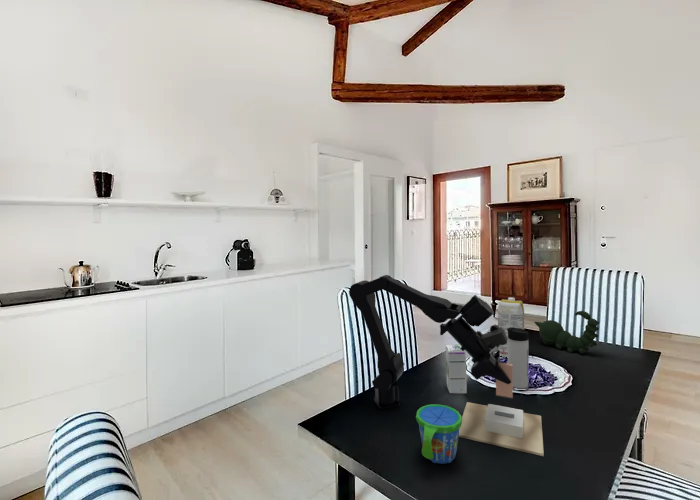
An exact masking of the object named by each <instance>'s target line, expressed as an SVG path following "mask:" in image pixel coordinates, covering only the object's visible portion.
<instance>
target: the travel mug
mask: <svg viewBox="0 0 700 500" xmlns="http://www.w3.org/2000/svg"><path fill="white" fill-rule="evenodd" d="M507 331H508V358H507V363H508V364H513V388H517V389H527V388H528V389H529V331H526V330H525V329H524V330H523V329H519V328H507ZM528 389H527V390H528Z"/></svg>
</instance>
